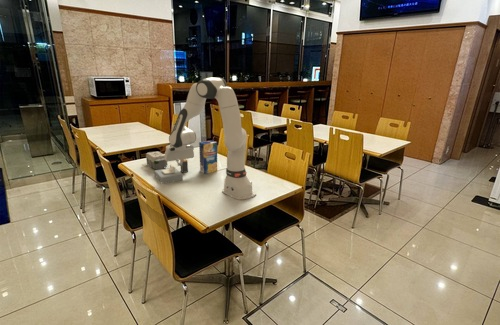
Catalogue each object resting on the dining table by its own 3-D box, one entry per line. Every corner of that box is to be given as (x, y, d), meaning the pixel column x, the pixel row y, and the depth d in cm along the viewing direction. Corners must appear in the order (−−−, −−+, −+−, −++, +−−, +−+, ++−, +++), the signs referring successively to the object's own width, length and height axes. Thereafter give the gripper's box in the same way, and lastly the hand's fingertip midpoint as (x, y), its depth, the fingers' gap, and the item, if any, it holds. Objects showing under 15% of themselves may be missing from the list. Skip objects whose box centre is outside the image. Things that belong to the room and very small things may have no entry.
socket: (182, 179, 190) (182, 174, 189) (162, 183, 183) (161, 177, 182) (174, 172, 203) (174, 167, 202) (155, 175, 195) (154, 170, 194)
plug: (187, 171, 205) (187, 160, 202) (182, 172, 203) (182, 160, 200) (185, 170, 208) (185, 158, 206) (180, 170, 206) (180, 159, 203)
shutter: (175, 172, 191) (174, 167, 189) (164, 174, 187) (164, 169, 186) (171, 169, 196) (171, 164, 195) (161, 171, 192) (161, 166, 191)
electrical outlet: (155, 172, 200) (154, 159, 197) (144, 164, 222) (142, 151, 220) (171, 169, 207) (170, 156, 204) (158, 161, 229) (157, 149, 226)
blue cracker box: (217, 170, 209) (217, 142, 202) (204, 173, 202) (203, 144, 195) (212, 168, 214) (212, 140, 207) (199, 170, 208) (199, 142, 201)
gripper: (191, 143, 199) (192, 162, 203) (163, 147, 188) (164, 166, 192) (195, 145, 194) (195, 164, 198) (166, 149, 183) (167, 169, 187)
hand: (180, 165), depth 195 cm, fingers closed
